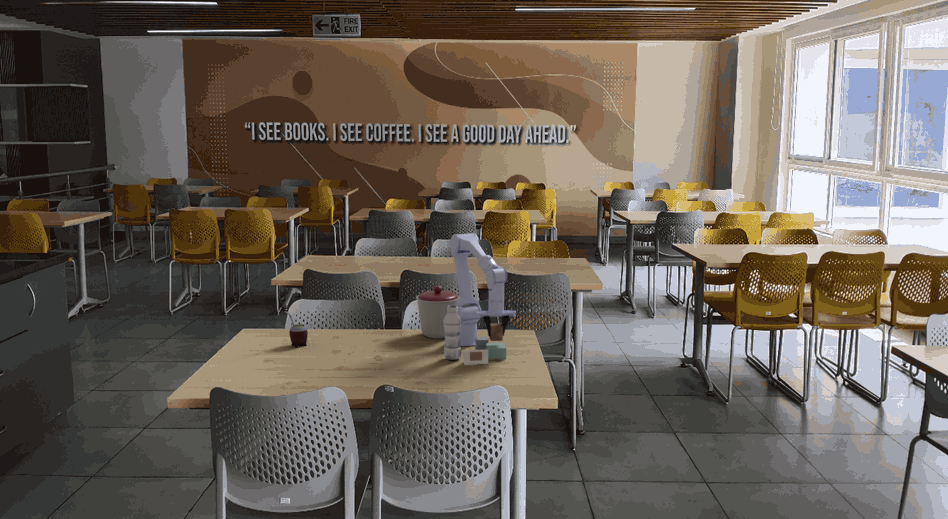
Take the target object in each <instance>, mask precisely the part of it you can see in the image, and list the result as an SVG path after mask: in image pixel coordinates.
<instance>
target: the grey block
mask: <svg viewBox="0 0 948 519" xmlns="http://www.w3.org/2000/svg"><path fill="white" fill-rule="evenodd" d="M486 343H489V338H488V336H477V337H475V346H474V347H475V349H474V350H486Z"/></svg>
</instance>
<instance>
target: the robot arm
mask: <svg viewBox="0 0 948 519" xmlns="http://www.w3.org/2000/svg"><path fill="white" fill-rule="evenodd" d="M479 243H480V238H479V236H478V235H477V234H476V233H475V232H469V233H461V234H460V233H459V234H458V233H456V234H455V233H454V234H453V235H452V236H451V238H450V240H449V244H450V245H449V246H450V252H451V256H453V260H454V261H453V262H454V265H455V272H456V280H457V281H456V282H457V289H458V293H459V294H458V295H459V296H460V298H459V300H458V301H457V302H456V303H455V304H454V306H457V310H458V312H457V314H458V315H459V317H460V319H461V326H460V347H468V346H469V347H470V346H471V347H472V346H474V347H475V337H478V322H479V320H480V319H481V318H483V321H484V324H485V326H486V330H487V337H490V336H491V330H490V326H491V323H492V320H491V318H501V321H500V322H501V324H502V326H503V337H504V336H505V333H506V329H507V327H508V324H509V322H510V320H511V317H513V318H516V315H517V312H516V310H505V283H507V280H508V271H507V269H506V268H505V267H503V266H500V265H498V264H497V262H496V261H495V260H494V258H493V257H492V256H491V255H489V254H486V253H485V251H484V250H483V248H482V247H481V244H479ZM471 254H472V255H473V256H474V257H475V259H476V260H477V261H478V262H477V265H478V267H479V268H480V270H481V271H482V272H483V274H485V276H484V277H485V280H486V287H487V289H488V309H487V310H482V308H481V305H480V303H479V300H478V299H477V298H475V297H474V295H473V291H472V289H473V288H472V283H471V276H470V270H469V262H468V257H469V255H471Z"/></svg>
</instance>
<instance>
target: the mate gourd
mask: <svg viewBox="0 0 948 519" xmlns="http://www.w3.org/2000/svg"><path fill="white" fill-rule="evenodd" d="M284 312H285V314H287V315H288V317H289V318H290V320H291V324H292V325H291V327H290V328H289V332H288V333H289V338H290V345H291V346H295V348H296V349H297V348H299V347H307V346H308V345H307V342H308V335H309V331H308V328H307V326H306V325H305V324H301V323H300V324H299V323H298V324H295V322H294V320H293V317H292V316H293V315H291V313H289V312H288V311H286V310H284Z"/></svg>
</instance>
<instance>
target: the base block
mask: <svg viewBox="0 0 948 519" xmlns="http://www.w3.org/2000/svg"><path fill="white" fill-rule="evenodd" d="M486 350H488V359H497V360H507V347H506V344H505V342H488V343H486Z"/></svg>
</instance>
